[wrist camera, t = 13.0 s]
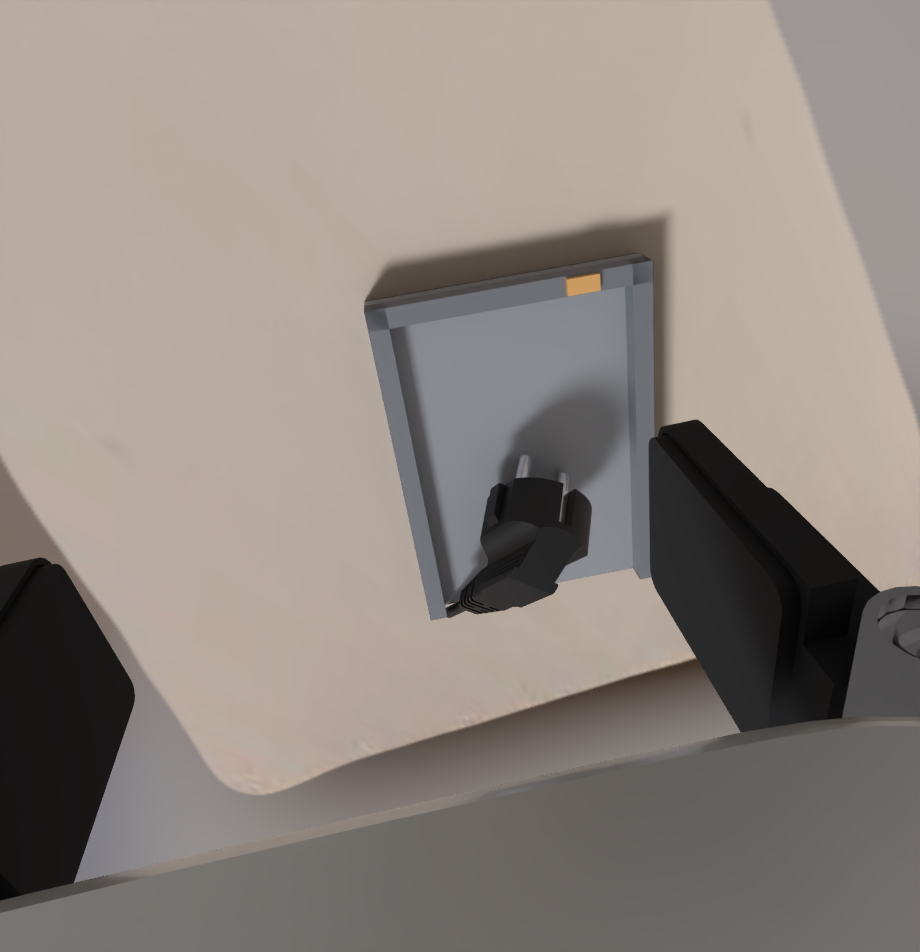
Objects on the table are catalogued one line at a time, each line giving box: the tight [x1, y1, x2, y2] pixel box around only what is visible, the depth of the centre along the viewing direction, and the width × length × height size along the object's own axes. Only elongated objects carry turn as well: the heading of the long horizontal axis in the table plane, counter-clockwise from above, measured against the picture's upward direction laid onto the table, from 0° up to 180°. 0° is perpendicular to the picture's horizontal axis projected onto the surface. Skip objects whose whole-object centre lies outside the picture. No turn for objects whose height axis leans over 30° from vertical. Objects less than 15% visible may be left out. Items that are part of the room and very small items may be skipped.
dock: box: [364, 253, 654, 620], centre depth 38 cm, size 19×14×2 cm
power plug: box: [446, 453, 592, 618], centre depth 39 cm, size 6×8×12 cm
